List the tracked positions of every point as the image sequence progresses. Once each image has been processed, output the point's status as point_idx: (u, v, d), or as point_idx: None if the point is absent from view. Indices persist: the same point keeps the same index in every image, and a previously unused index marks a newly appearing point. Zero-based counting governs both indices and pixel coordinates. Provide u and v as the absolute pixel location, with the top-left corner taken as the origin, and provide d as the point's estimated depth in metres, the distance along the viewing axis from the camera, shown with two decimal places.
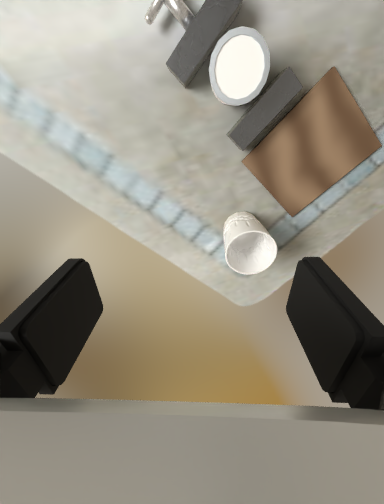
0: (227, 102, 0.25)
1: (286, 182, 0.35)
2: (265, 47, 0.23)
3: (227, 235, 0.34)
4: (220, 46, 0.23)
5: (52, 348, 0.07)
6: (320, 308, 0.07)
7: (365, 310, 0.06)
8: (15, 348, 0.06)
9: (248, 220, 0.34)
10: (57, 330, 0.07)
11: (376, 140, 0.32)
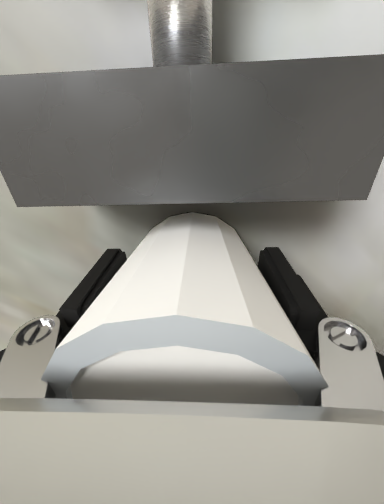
0: None
1: None
2: None
3: None
4: (166, 339, 0.04)
5: None
6: (272, 291, 0.08)
7: (303, 290, 0.07)
8: None
9: None
10: None
11: None
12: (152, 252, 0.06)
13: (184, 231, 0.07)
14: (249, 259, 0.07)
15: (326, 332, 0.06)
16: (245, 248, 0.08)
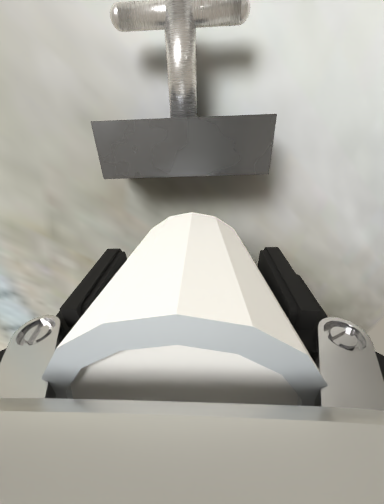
0: None
1: None
2: None
3: None
4: (166, 338, 0.04)
5: None
6: (272, 291, 0.08)
7: (303, 290, 0.07)
8: None
9: None
10: None
11: None
12: (152, 252, 0.06)
13: (184, 231, 0.07)
14: (249, 259, 0.07)
15: (326, 332, 0.06)
16: (245, 248, 0.08)
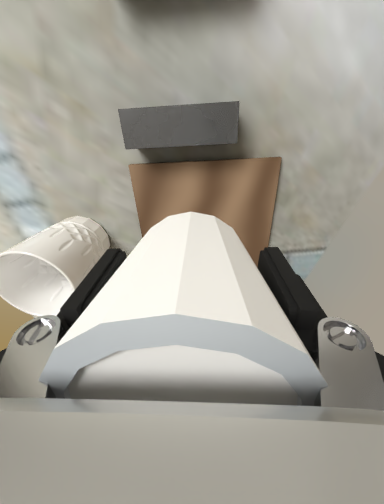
0: None
1: None
2: None
3: (28, 238, 0.20)
4: (165, 338, 0.04)
5: None
6: None
7: (302, 290, 0.07)
8: None
9: (77, 241, 0.22)
10: None
11: None
12: (151, 251, 0.06)
13: (183, 230, 0.07)
14: (248, 258, 0.07)
15: (325, 332, 0.06)
16: (244, 247, 0.08)
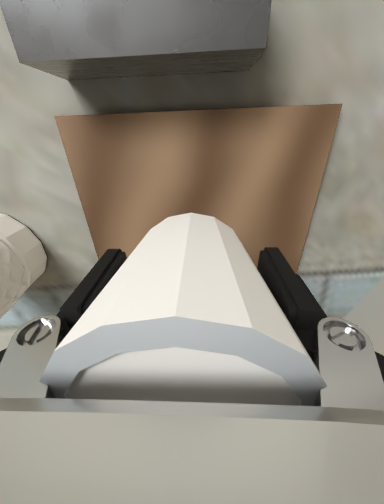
0: None
1: (131, 239, 0.16)
2: None
3: None
4: (165, 340, 0.04)
5: None
6: (271, 291, 0.08)
7: (302, 290, 0.07)
8: None
9: None
10: None
11: None
12: (151, 253, 0.06)
13: (183, 232, 0.07)
14: (248, 259, 0.07)
15: (325, 332, 0.06)
16: (244, 248, 0.08)
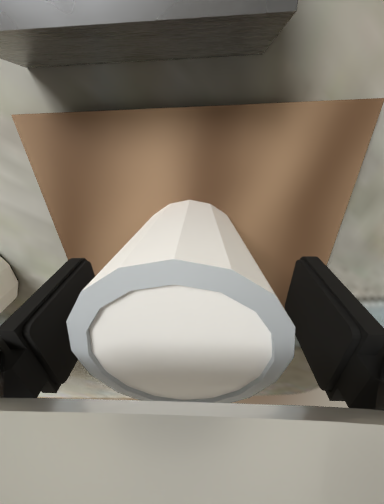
0: (95, 376, 0.07)
1: None
2: (277, 371, 0.07)
3: None
4: (166, 279, 0.05)
5: (55, 347, 0.07)
6: (317, 307, 0.07)
7: (362, 309, 0.06)
8: (18, 347, 0.06)
9: None
10: (60, 329, 0.07)
11: None
12: (154, 227, 0.07)
13: (182, 212, 0.09)
14: (237, 236, 0.08)
15: None
16: (235, 229, 0.09)
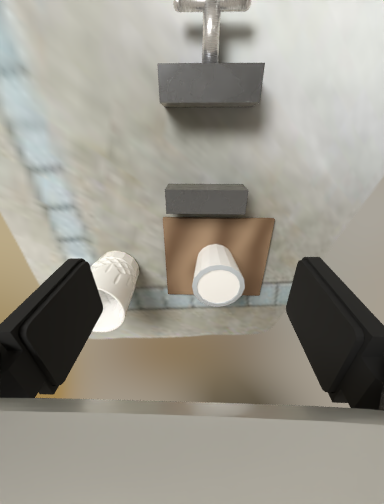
0: (195, 294, 0.28)
1: (184, 265, 0.34)
2: (241, 292, 0.27)
3: None
4: (218, 268, 0.26)
5: (52, 348, 0.07)
6: (320, 308, 0.07)
7: (365, 310, 0.06)
8: (15, 348, 0.06)
9: (122, 274, 0.29)
10: (57, 330, 0.07)
11: (259, 289, 0.36)
12: (210, 256, 0.28)
13: (216, 251, 0.29)
14: (232, 258, 0.29)
15: None
16: (231, 255, 0.30)
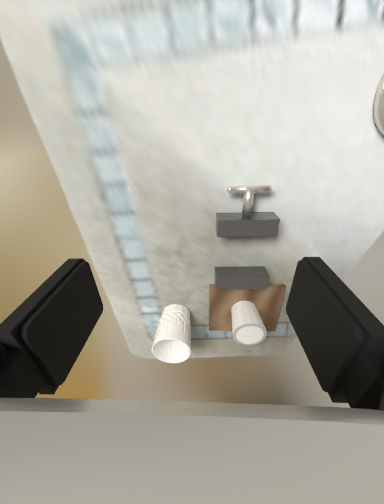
0: (234, 339, 0.43)
1: (222, 313, 0.49)
2: (264, 337, 0.42)
3: (166, 326, 0.43)
4: (250, 325, 0.40)
5: (52, 348, 0.07)
6: (320, 308, 0.07)
7: (365, 310, 0.06)
8: (15, 348, 0.06)
9: (185, 325, 0.44)
10: (57, 330, 0.07)
11: (274, 327, 0.50)
12: (243, 313, 0.43)
13: (246, 308, 0.44)
14: (257, 313, 0.44)
15: None
16: (256, 310, 0.45)
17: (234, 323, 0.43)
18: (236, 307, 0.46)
